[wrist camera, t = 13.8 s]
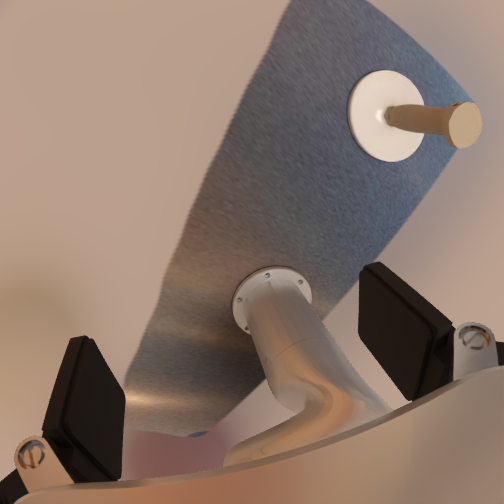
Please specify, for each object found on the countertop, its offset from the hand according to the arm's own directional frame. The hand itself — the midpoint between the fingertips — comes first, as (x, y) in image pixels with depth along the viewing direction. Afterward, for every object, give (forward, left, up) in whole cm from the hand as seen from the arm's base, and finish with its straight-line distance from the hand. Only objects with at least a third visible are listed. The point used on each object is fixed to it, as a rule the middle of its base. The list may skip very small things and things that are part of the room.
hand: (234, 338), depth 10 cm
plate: (+3, -30, -33) cm, 45 cm away
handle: (+3, -29, -32) cm, 44 cm away
